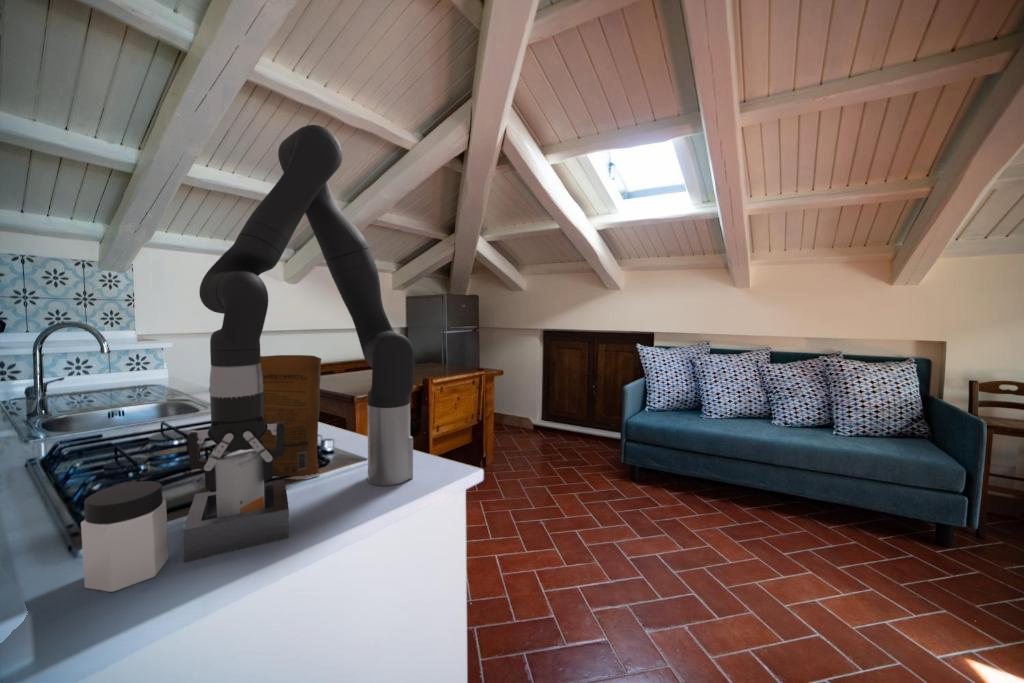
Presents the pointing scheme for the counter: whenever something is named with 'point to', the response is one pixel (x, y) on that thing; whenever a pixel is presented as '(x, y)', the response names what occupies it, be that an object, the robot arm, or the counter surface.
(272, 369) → the pancake mix bag
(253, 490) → the skincare box
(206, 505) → the socket block
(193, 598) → the counter surface
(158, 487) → the jar
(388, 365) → the robot arm
